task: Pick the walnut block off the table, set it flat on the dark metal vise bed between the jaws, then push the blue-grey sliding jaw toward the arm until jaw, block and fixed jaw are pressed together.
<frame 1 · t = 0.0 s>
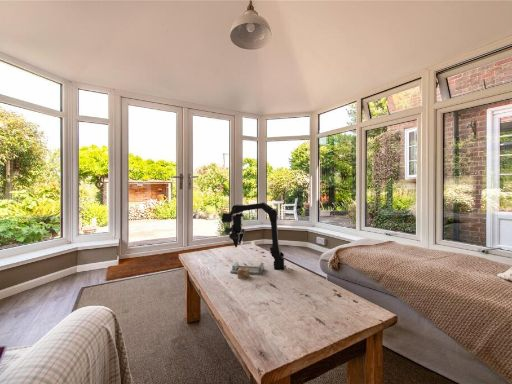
hand: (237, 245, 166), 14 cm above the table, fingers open, 9 cm apart
jaw: (235, 266, 159), point 3 cm above the table, slide at 0.0 cm
block: (243, 277, 147), on the table
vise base: (247, 270, 157), on the table
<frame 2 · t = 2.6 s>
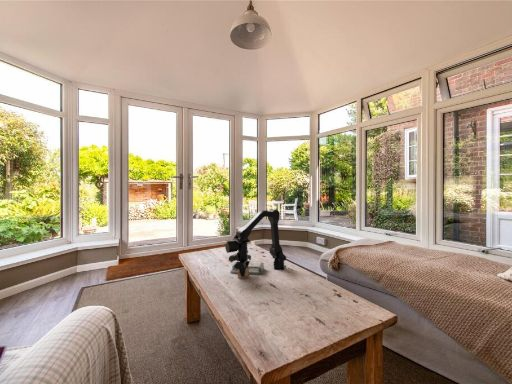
hand: (243, 275, 147), 1 cm above the table, fingers closed on block, 4 cm apart
block: (243, 276, 147), on the table, touching gripper
everything else where it was.
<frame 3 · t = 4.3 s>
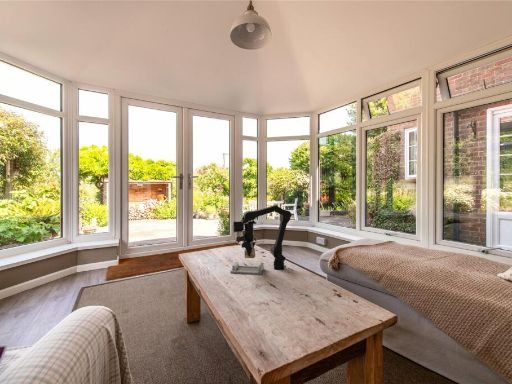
hand: (250, 254, 156), 11 cm above the table, fingers closed on block, 4 cm apart
block: (250, 256, 156), point 9 cm above the table, touching gripper
everything else where it was.
when the fingers open (3 cm above the table, at t = 6.2 s): block stays where it is, resting on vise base.
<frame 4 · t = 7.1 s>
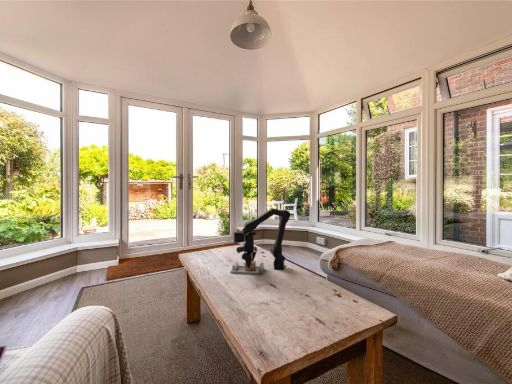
hand: (250, 265, 156), 4 cm above the table, fingers open, 9 cm apart
block: (250, 269, 157), point 1 cm above the table, touching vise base
everything else where it was.
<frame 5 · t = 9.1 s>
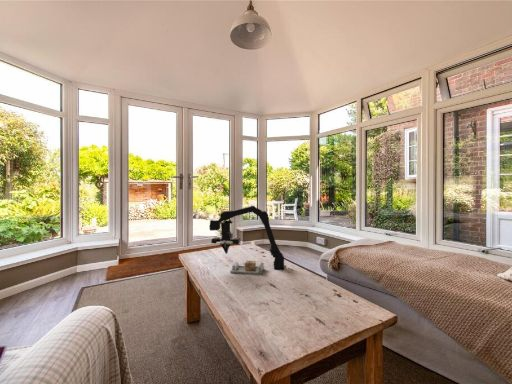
hand: (226, 253, 160), 11 cm above the table, fingers closed
nothing on the table moved.
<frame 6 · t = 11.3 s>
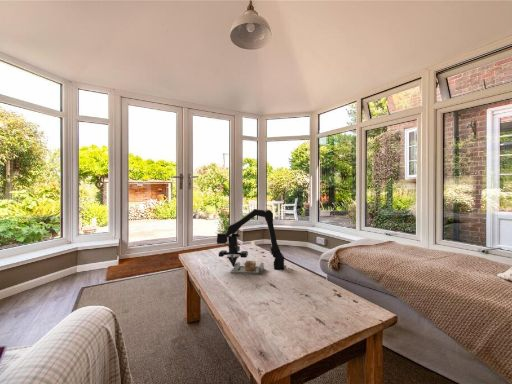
hand: (233, 266, 159), 2 cm above the table, fingers closed
jaw: (237, 266, 158), point 3 cm above the table, slide at 1.1 cm, touching gripper
everything else where it was.
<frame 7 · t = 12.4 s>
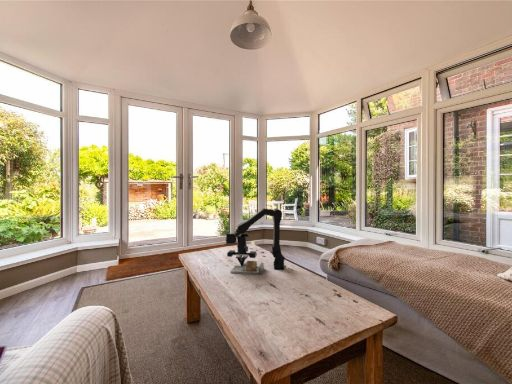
hand: (242, 266, 158), 2 cm above the table, fingers closed
jaw: (245, 266, 157), point 3 cm above the table, slide at 6.8 cm, touching block, gripper
block: (251, 269, 157), point 1 cm above the table, touching jaw
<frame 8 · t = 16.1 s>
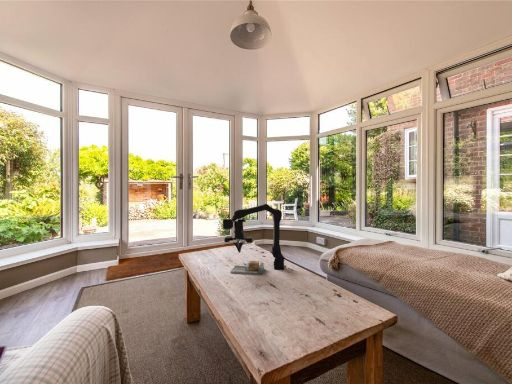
hand: (239, 252, 158), 12 cm above the table, fingers closed
jaw: (247, 266, 157), point 3 cm above the table, slide at 8.3 cm, touching block
block: (253, 269, 156), point 1 cm above the table, touching jaw, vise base
at the end: jaw slide at 8.3 cm; block 0.7 cm from the target spot, point 1.0 cm above the table; block tilted 0° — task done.
